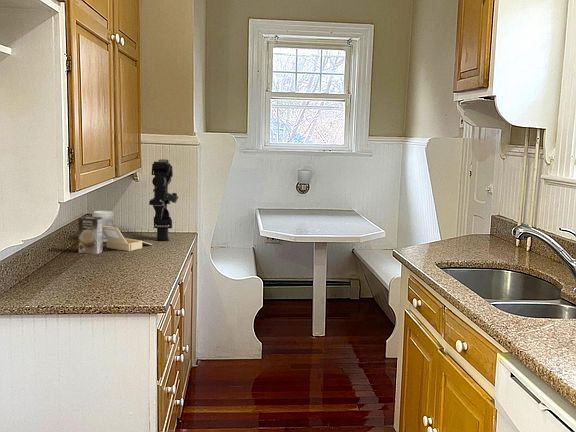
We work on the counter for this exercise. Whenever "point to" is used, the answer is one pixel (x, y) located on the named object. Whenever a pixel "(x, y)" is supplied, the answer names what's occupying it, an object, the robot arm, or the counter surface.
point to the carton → (126, 245)
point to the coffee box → (90, 235)
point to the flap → (113, 234)
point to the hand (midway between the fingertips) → (159, 219)
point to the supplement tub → (105, 220)
